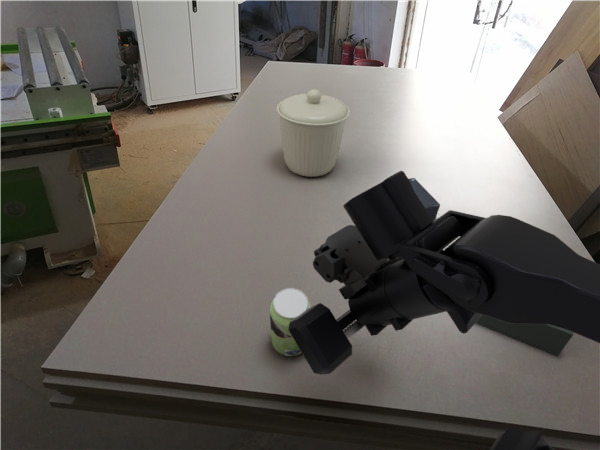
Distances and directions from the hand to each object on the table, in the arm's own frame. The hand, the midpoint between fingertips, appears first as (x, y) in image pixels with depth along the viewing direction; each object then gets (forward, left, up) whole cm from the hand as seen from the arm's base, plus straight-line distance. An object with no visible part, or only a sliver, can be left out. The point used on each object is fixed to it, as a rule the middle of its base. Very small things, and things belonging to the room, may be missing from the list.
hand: (329, 315), depth 53 cm
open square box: (+15, -36, -14) cm, 41 cm away
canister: (+62, 0, -14) cm, 63 cm away
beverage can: (+5, +5, -14) cm, 16 cm away
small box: (+35, -20, -14) cm, 43 cm away
